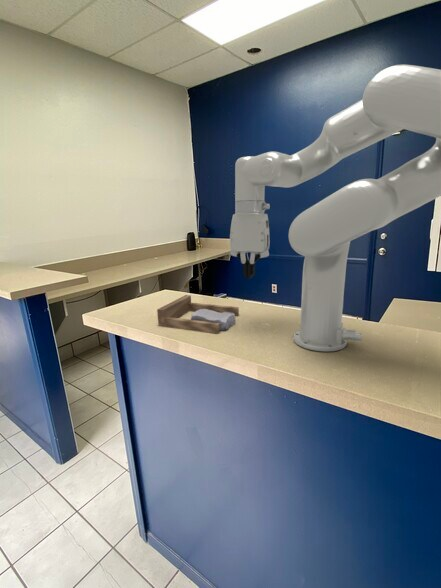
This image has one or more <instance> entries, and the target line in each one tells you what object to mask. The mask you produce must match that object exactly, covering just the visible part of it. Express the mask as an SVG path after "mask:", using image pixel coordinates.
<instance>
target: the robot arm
mask: <svg viewBox="0 0 441 588" xmlns="http://www.w3.org/2000/svg"><path fill="white" fill-rule="evenodd" d="M402 130H406V131H410V132H414V133H417V134H422V135H426V136H429V137H432V138H435V143H434V144H433V146H432V147H430V149H428V150H427V151H425V152H424V153H422V154H420V155H418V156H417V157H415V158H413V159H411V160H409V161H407V162H406V163H404V164H403V165H401V166H399V167H398V168H396V169H394V170H393V171H390V172H388V173H387V174H385V175H383V176H381V177H380V178H379V177H378V178H377V179H375V178H361V179H358V180H355V181H353V182H351V183H349V184H347V185H345V186H343V187H341V188H340V189H338V190H337V191H335V192H333V193H332V194H330V195H328V196H326V197H325V198H323V199H322V200H320V201H318V202H317V203H315V204H313V205H312V206H310V207H308V208H307V209H305V210H303V211H302V212H301V213H299V214H298V215H297V216H296V217H295V218H294V219H293V221H292V222H291V223H290V226H289V229H288V235H287V236H288V241H289V244H290V247H291V249H293V251H295V252H296V253H297V254H299V255H300V256H303V257H304V260H303V266H302V267H303V268H302V280H301V281H302V282H301V302H300V303H301V305H300V326H299V327H300V329H299V330H297V331H295V332H294V333H293V341H294V342H295V344H296V345H298V346H299V347H301V348H304V349H306V350H311V351H315V352H326V353H327V352H335V351H339V350H342V349H344V348H346V346H347V345H348V340H351V341H358V342H362V336H363V335H362V332H357V330H356V329H351V328H350V329H349V328H346V327H344V322H342V321H343V309H344V296H345V295H344V294H345V283H346V273H347V271H346V270H347V262H348V255H349V250H350V245H351V241H353V240H356V239H357V238H360V237H362V236H364V235H366V234H368V233H370V232H372V231H377V230H378V229H380V228H383V227H385V226H387V225H388V224H390V223H391V222H393V221H395V220H397V219H398V218H400V217H402V216H404V215H406V214H408V213H410V212H412V211H414V210H416V209H418V208H420V207H422V206H424V205H425V204H428V203H429V202H432V201H434V200H435V199H437V198H439V197H441V69H438V68H432V67H426V66H420V65H413V64H395V65H391V66H389V67H386V68H384V69H381V70H380V71H379V72H377V73H376V74H375V75H374V76H373V77H372V78H371V79H370V80H369V82H368V84H367V85H366V86H365V89H364V91H363V95H362V99H360V100H359V101H356V102H355V103H354V104H352V105H350V106H349V107H347V108H345V109H343V110H341V111H339V112H338V113H336V114H333V115H332V116H331V117H329V118H328V119H326V121H325V122H324V124H323V128H322V131H321V133H320V134H319V136H318V137H317V138H316V140H314V142H312V143H311V144H309V145H308V146H306V147H305V148H303V149H301V150H299V151H297V152H296V153H295V152H294V153H293V154H291V155H289V154H287V153H283V152H279V151H268V152H264V153H260V154H258V155H255V156H253V155H250V156H248V155H247V156H242V157H239V158H238V159H237V160H235V165H234V167H235V168H234V169H235V170H234V171H235V172H234V176H235V177H234V178H235V179H234V180H235V181H234V184H235V185H234V186H235V187H234V190H235V191H234V193H235V195H234V197H235V198H234V199H235V200H234V202H235V203H234V204H235V205H234V206H235V208H234V209H235V211H234V212H235V213H234V214H232V219H231V224H230V229H229V230H230V231H229V232H230V233H229V250H230V251H229V255H230V256H232V257H237V258H238V259H239V261H240V263H241V264H242V275H244V277H243V278H244V279H252V278H253V277H254V276H255V274H256V263H257V262H258V261H259V259H262V258H263V259H264V258H268V257H269V256H270V252H269V250H270V245H271V244H270V242H271V241H270V239H271V238H270V226H269V224H270V222H269V217H268V213H265V211H266V210H270V207H271V206H270V203H267V202H266V200H265V193H266V192H265V189H266V186H267V187H274V188H275V187H279V188H293V187H297V186H298V185H300V184H302V183H304V182H307V181H309V180H311V179H314V178H315V177H318V176H319V175H322V174H323V173H325V172H326V171H327V170H329V169H330V168H332V167H334V166H335V165H336V164H337V163H339V162H340V161H341V160H343V159H345V158H347V157H348V156H351V155H353V154H356V153H357V152H359V151H361V150H364V149H365V148H367V147H369V146H372V145H374V144H376V143H378V142H380V141H382V140H384V139H387V138H389V137H391V136H393V135H395V134H397V133H398V132H401V131H402ZM248 253H250V257H249V255H248Z"/></svg>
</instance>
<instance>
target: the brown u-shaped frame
mask: <svg viewBox="0 0 441 588" xmlns="http://www.w3.org/2000/svg"><path fill="white" fill-rule="evenodd" d="M200 309H208V310H212V311H215V312H219V313H223V312H229V313H234V314H235V317H238V316H239V315H240V313H239V312H240V310H239V309H240V307H239V306H231V305H230V306H229V305H221V304H220V305H219V304H211V303H210V304H209V303H201V302H200V303H199V302H192V295H189V294H185V295H183V296H181V297H179V298H177V299H175V300H173V301H171V302H169V303H167V304H165V305H163V306H162V307H159V308H157V309H156V310H157V311H156V313H157V324H158V325H157V326H158V327H164V328H165V327H167V328H172V329H181V330H187V331H188V330H189V331H194V332H201V333H203V332H204V333H210V334H211V333H212V334H219V333H220V332H221V330H220V323H214V322H206V321H197V320H191V319H189V318H187V319H186V318H180V317H182V316H183V315H185V314H187V313H188V312H193V313H194V312H196V311H197V310H200Z"/></svg>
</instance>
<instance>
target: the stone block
mask: <svg viewBox="0 0 441 588" xmlns="http://www.w3.org/2000/svg"><path fill="white" fill-rule="evenodd" d="M190 320H197V321H206V322H214V323H220V331H225V332H226V331H227V330H229V328H230V327H231V326H233V325H235V324H236V316H235V314H234V313H229V312H223V313H219V312H215V311H212V310H208V309H200V310H197V311H196V312H194V311H193V313H192V314H191V316H190Z"/></svg>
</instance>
